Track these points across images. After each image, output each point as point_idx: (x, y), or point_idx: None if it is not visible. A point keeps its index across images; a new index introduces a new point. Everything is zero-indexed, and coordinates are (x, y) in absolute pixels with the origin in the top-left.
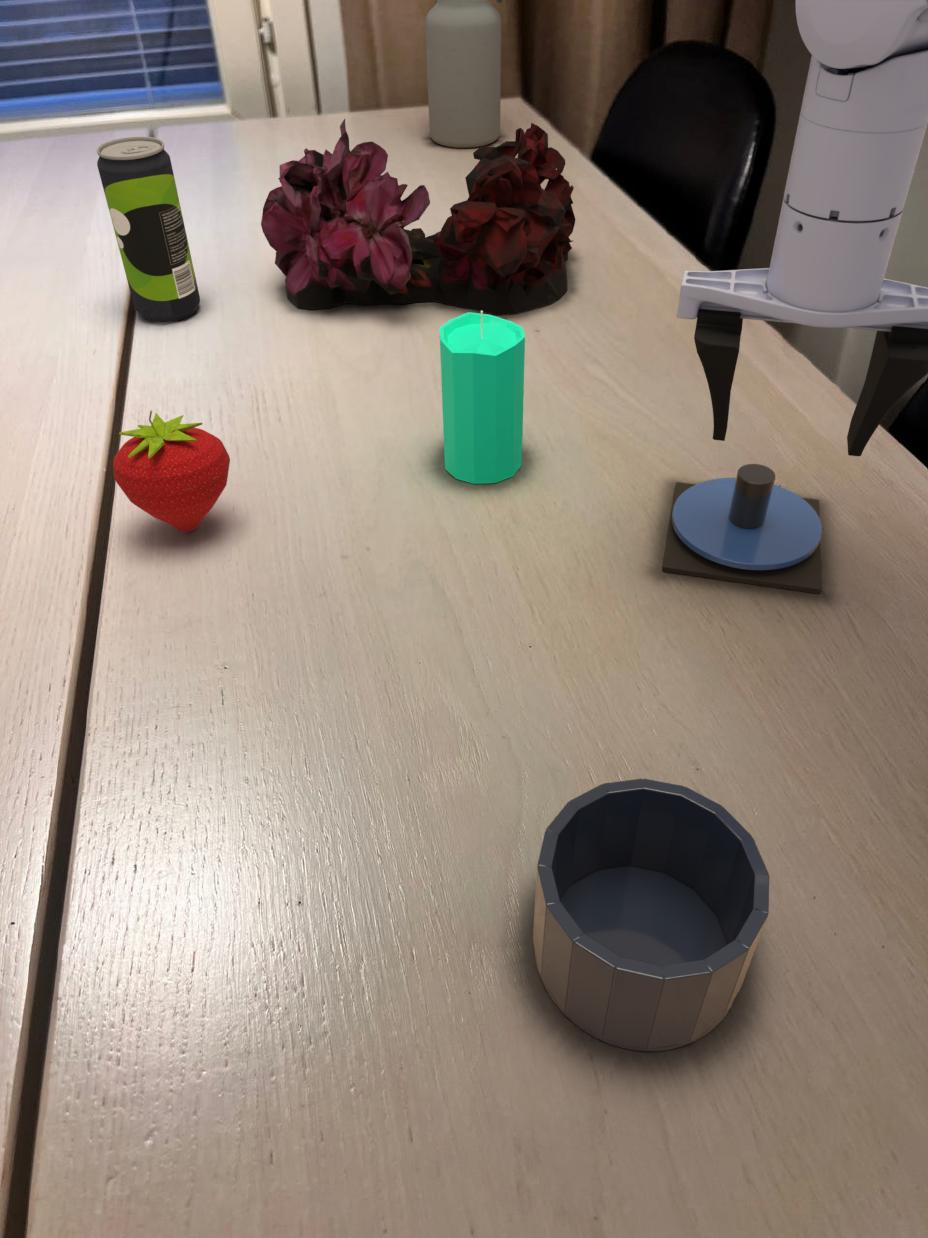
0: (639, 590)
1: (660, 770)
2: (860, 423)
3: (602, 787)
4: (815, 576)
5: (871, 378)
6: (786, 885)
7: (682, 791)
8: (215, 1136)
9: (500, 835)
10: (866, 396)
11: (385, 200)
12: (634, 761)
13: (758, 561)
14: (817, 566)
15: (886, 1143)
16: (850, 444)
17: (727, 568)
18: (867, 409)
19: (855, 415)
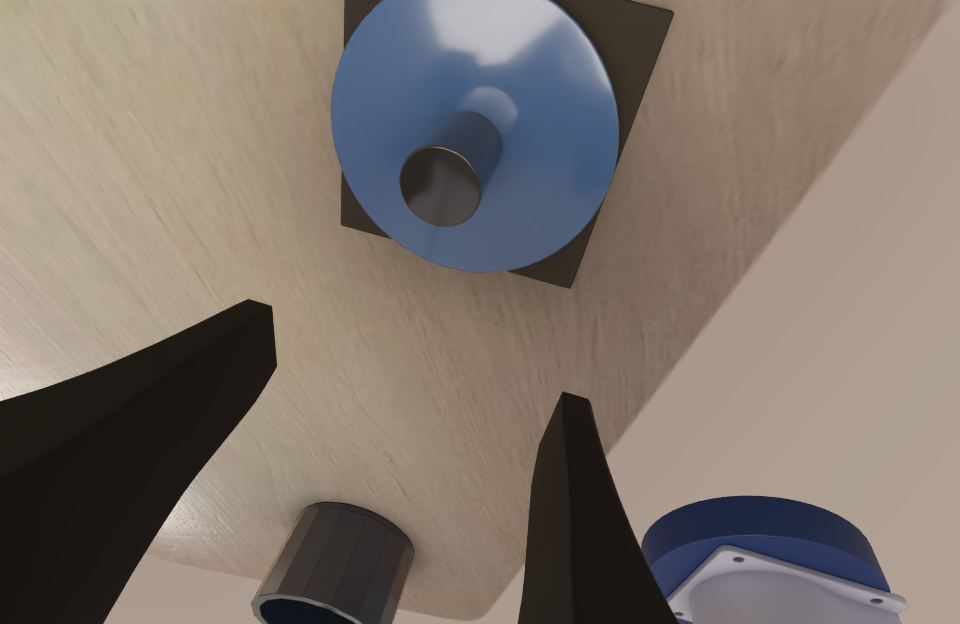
0: (318, 255)
1: (362, 457)
2: (530, 531)
3: (276, 595)
4: (570, 261)
5: (536, 620)
6: (448, 531)
7: (329, 608)
8: (196, 552)
9: (261, 477)
10: (540, 564)
11: None
12: (341, 448)
13: (470, 264)
14: (582, 240)
15: (473, 609)
16: (540, 454)
17: None
18: (523, 590)
19: (554, 460)
